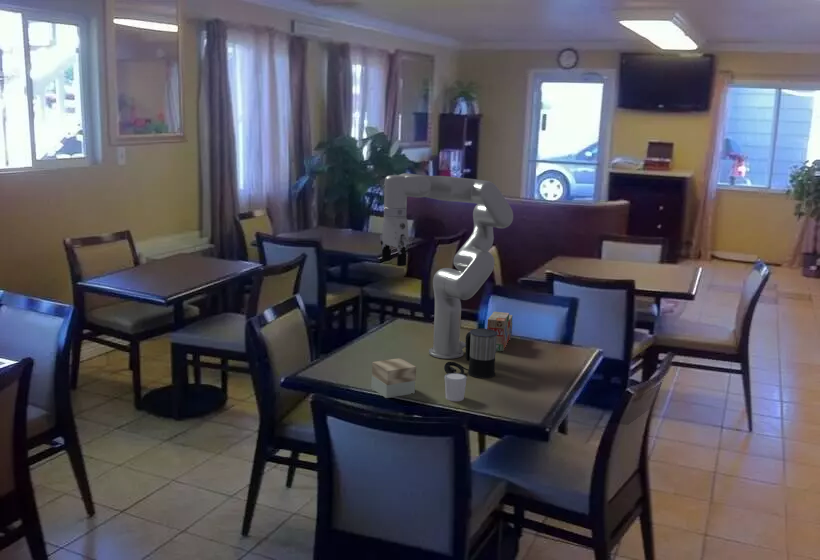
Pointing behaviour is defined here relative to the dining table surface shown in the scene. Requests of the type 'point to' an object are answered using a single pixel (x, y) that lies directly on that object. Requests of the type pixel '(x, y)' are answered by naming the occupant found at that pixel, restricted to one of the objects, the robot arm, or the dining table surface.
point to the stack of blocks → (501, 328)
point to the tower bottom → (393, 388)
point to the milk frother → (478, 354)
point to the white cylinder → (455, 386)
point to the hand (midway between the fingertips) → (393, 263)
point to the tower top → (394, 371)
